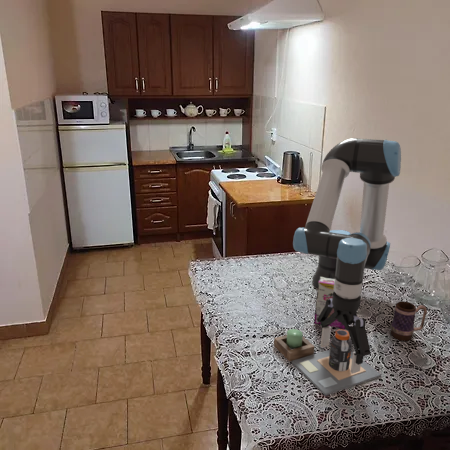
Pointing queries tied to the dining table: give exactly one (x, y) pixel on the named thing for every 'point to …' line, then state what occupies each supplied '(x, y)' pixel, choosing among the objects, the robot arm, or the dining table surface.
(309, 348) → the button box
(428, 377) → the dining table surface
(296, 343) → the button
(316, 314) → the candy bar box
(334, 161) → the robot arm
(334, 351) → the pill bottle
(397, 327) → the mug
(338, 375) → the picture board
